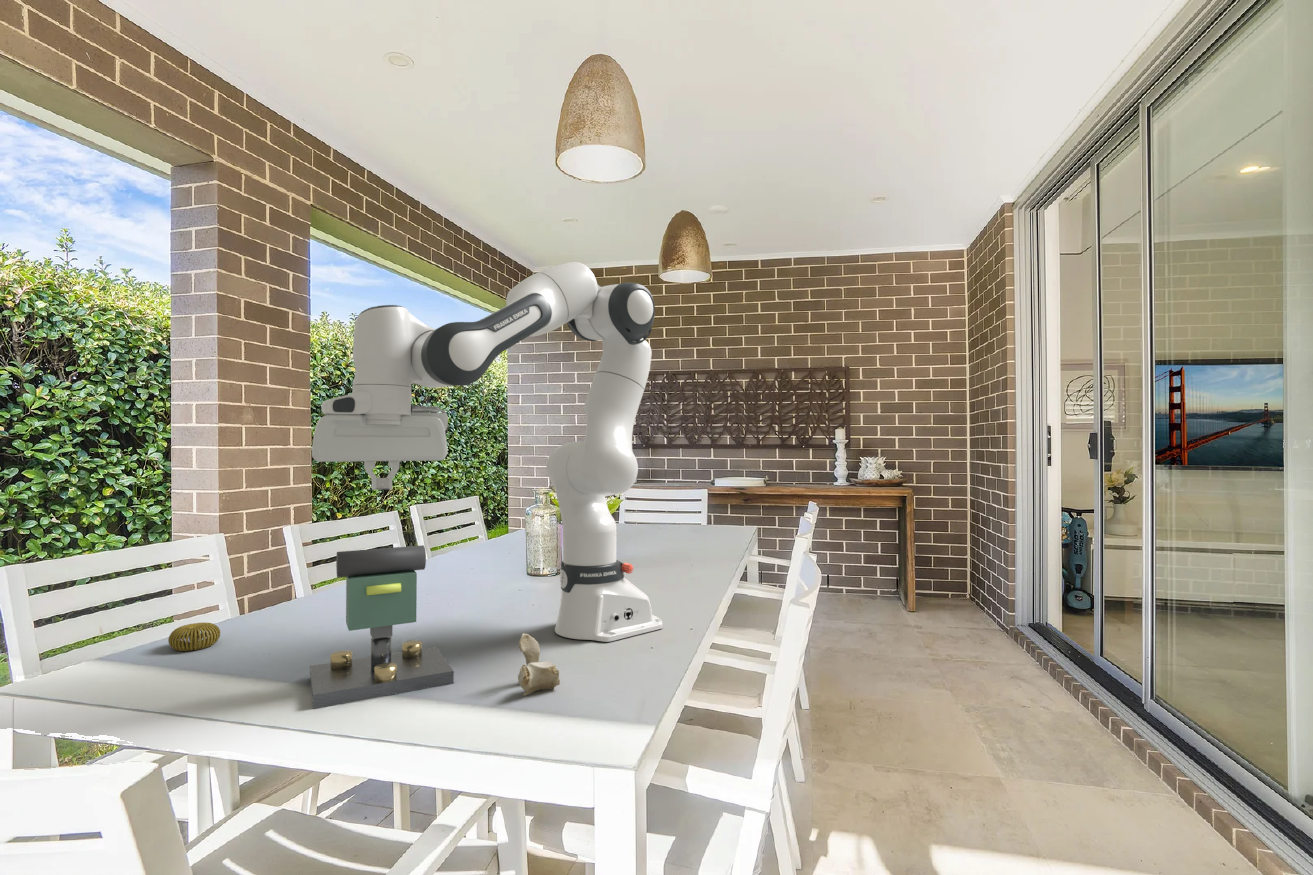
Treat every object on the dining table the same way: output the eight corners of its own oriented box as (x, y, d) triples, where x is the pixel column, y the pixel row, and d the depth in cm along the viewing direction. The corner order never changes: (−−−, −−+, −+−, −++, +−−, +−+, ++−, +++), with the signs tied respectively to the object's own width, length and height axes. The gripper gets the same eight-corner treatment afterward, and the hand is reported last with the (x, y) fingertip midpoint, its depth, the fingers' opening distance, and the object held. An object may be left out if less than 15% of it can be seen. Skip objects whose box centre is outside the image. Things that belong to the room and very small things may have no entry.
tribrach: (435, 657, 116) (436, 618, 116) (453, 683, 104) (453, 639, 104) (309, 677, 106) (310, 635, 106) (313, 708, 94) (313, 660, 94)
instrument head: (420, 624, 110) (420, 543, 110) (426, 634, 105) (427, 548, 105) (335, 635, 104) (336, 549, 104) (338, 647, 98) (338, 555, 98)
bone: (559, 691, 96) (526, 632, 98) (522, 712, 97) (491, 653, 98) (572, 674, 105) (542, 620, 106) (538, 694, 105) (509, 640, 106)
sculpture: (178, 621, 125) (226, 618, 127) (178, 642, 125) (226, 639, 127) (160, 633, 117) (211, 629, 119) (160, 655, 117) (211, 651, 119)
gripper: (443, 407, 113) (443, 486, 113) (311, 403, 103) (311, 490, 103) (451, 405, 107) (451, 488, 107) (313, 401, 97) (312, 493, 97)
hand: (381, 489), depth 105 cm, fingers closed
